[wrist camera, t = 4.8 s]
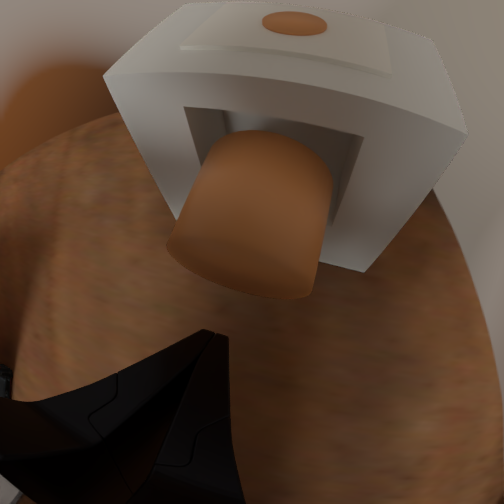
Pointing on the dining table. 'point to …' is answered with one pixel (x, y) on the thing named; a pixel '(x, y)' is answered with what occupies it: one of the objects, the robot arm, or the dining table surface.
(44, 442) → the robot arm
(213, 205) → the button
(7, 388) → the handheld game console
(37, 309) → the dining table surface
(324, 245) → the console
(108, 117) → the dining table surface
